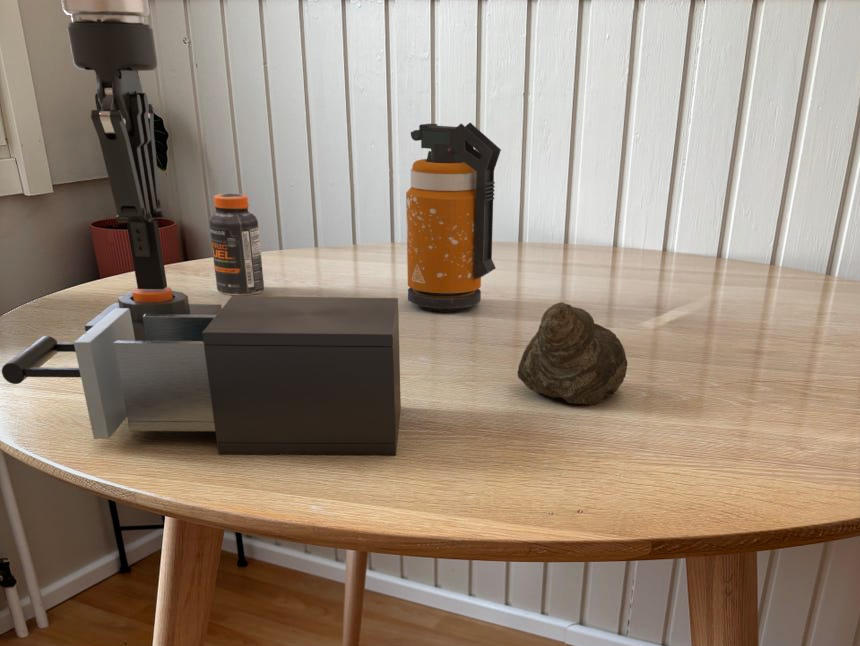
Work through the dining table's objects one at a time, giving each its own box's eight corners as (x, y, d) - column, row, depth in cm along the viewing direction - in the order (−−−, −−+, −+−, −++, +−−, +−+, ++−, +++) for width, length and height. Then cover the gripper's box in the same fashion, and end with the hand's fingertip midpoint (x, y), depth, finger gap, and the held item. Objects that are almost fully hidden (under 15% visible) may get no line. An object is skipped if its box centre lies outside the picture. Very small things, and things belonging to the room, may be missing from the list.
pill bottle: (207, 291, 120) (194, 194, 114) (242, 284, 124) (231, 190, 118) (240, 298, 117) (228, 199, 111) (274, 290, 121) (265, 194, 115)
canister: (429, 294, 121) (428, 117, 110) (507, 304, 117) (514, 122, 106) (394, 308, 114) (389, 121, 104) (475, 319, 110) (479, 127, 100)
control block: (88, 347, 97) (80, 307, 95) (116, 323, 106) (109, 286, 104) (205, 348, 98) (200, 309, 96) (223, 324, 106) (219, 287, 104)
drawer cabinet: (218, 454, 73) (201, 332, 68) (244, 405, 83) (231, 295, 78) (396, 455, 73) (392, 334, 68) (400, 406, 83) (398, 297, 78)
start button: (130, 311, 98) (127, 293, 97) (140, 302, 102) (137, 285, 101) (169, 311, 99) (166, 294, 98) (177, 302, 102) (175, 286, 101)
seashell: (472, 323, 84) (538, 347, 77) (563, 239, 86) (636, 255, 79) (524, 415, 92) (588, 445, 85) (606, 336, 94) (676, 359, 86)
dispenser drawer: (10, 438, 72) (-15, 341, 68) (57, 395, 81) (37, 307, 77) (257, 440, 73) (247, 344, 69) (277, 397, 82) (268, 309, 78)
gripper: (130, 19, 81) (174, 302, 94) (167, 22, 92) (201, 275, 105) (42, 17, 81) (97, 301, 93) (89, 21, 92) (133, 274, 104)
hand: (152, 287), depth 99 cm, fingers closed
